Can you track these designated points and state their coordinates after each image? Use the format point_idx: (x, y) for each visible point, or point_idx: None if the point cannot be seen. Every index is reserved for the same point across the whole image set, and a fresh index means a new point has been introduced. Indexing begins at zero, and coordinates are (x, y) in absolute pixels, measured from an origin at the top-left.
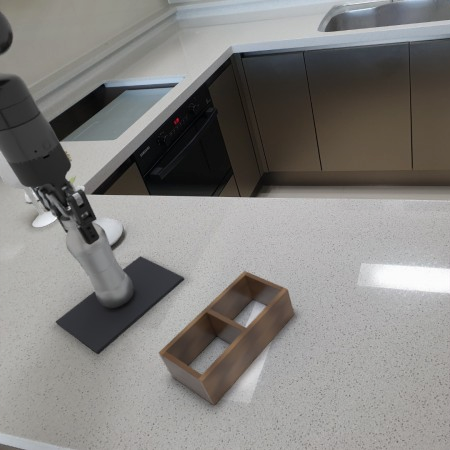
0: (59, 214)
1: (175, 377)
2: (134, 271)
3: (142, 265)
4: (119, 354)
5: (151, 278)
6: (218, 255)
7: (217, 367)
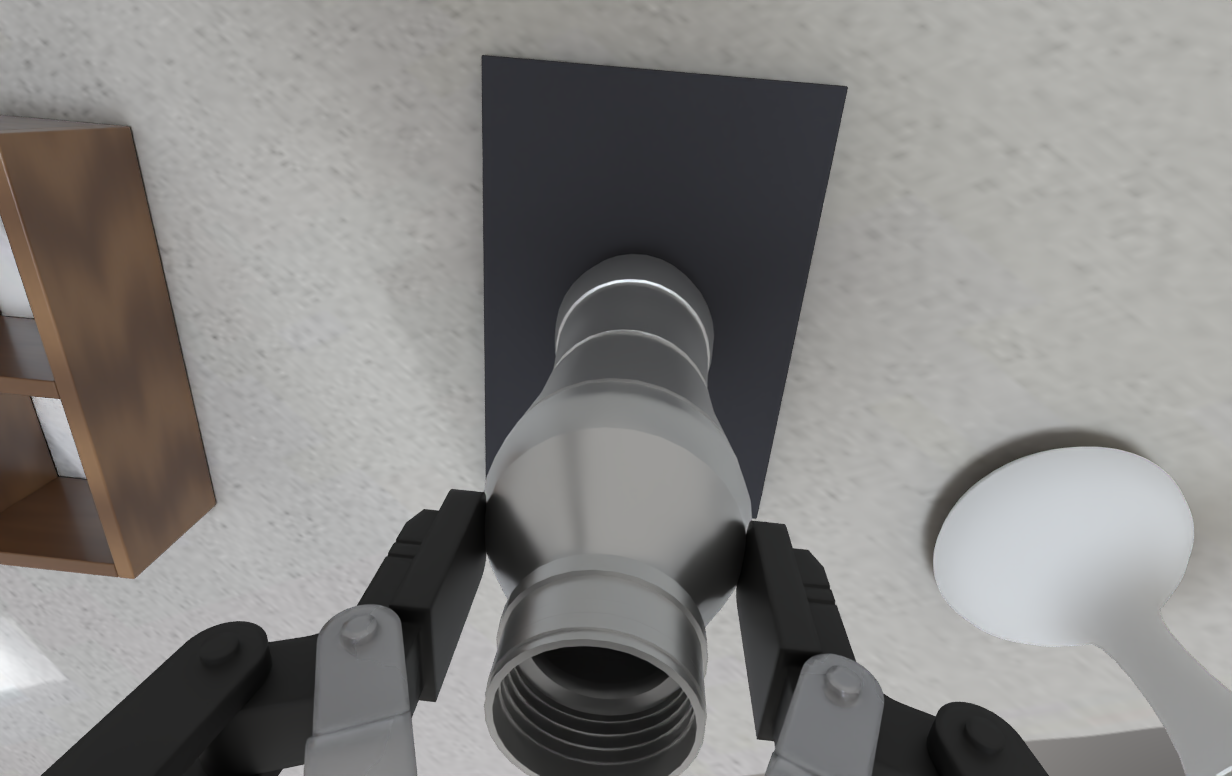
0: (788, 691)
1: (89, 124)
2: None
3: None
4: (400, 103)
5: None
6: None
7: None
